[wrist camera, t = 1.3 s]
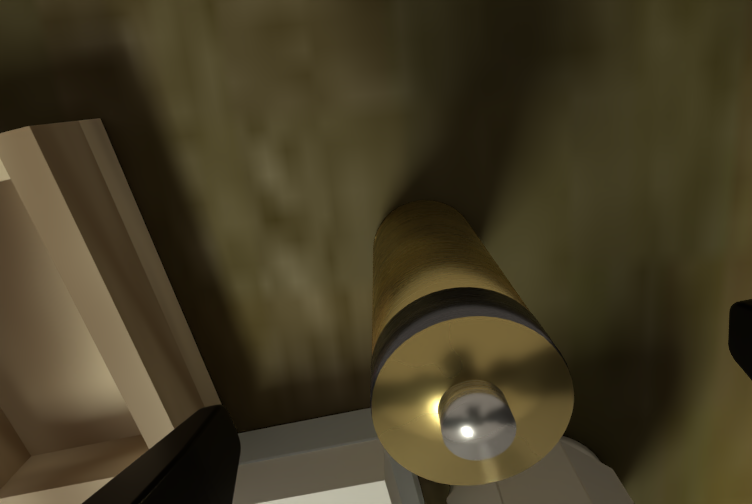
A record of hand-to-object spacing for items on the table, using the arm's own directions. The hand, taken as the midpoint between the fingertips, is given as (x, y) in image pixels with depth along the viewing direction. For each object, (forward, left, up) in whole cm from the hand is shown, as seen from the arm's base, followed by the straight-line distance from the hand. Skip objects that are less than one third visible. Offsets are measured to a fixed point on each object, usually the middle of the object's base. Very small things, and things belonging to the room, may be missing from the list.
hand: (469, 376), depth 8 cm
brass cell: (0, 0, -7) cm, 7 cm away
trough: (+12, -1, -7) cm, 14 cm away
